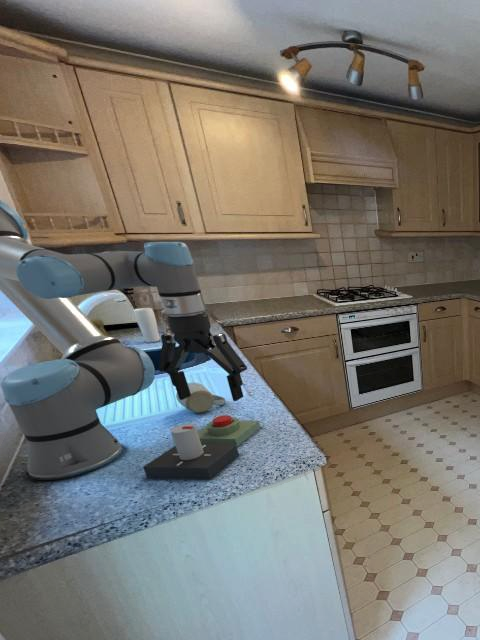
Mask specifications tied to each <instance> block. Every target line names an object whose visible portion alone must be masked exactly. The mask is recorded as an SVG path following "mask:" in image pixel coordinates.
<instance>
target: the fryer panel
mask: <svg viewBox="0 0 480 640" xmlns="http://www.w3.org/2000/svg"><path fill="white" fill-rule="evenodd" d="M201 445H202V448H203V451H204V453H203V454H202V455H201V456H199V457H197V458H194V459H191V460H181V459H180V457H179V454H178V451H177V448H176V446H175V445H174V446H172V447H171V448H170V449H168V450H167V451H165V452H164V453H162V454H161V455H159V456H157V457H156V458H154V459H153V460H152V461H150V462H148V463H147V464H145V465H144V466H143V468H142V469H143V471H144V473H145V476H146V479H160V480H161V479H164V480H165V479H167V480H168V479H169V480H212V479H213V478H214V477H215V476H216V475H218V474H219V473H220V472H221V471H222V470H224V469H225V468H227V466H228V465H229V464H231V463H232V462H233V461H234V460H235V459H237V458H238V457H239V456H240V453H239V450H238V446H237V445H222V444H201Z"/></svg>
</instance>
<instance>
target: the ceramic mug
mask: <svg viewBox="0 0 480 640" xmlns="http://www.w3.org/2000/svg"><path fill="white" fill-rule="evenodd" d="M187 384H188V387H189V390H190V393H191V396H189V397H187V398H185V399H183V400H180V399H179V396H178V393H177V392H176V400H177V402H178V403H179V404H180V405H181V406H182V407H184V408H185V409H186V410H187V411H189V412H192V413H195V414H203V413H205V412H207V411H209V410H210V409H212V407H213V406H223V405H225V404H226V398H225V397H223V396H221V395H216V394H212V392H211V391H210V390H208V389H207V387H206V386H204V385H203V384H201V383H199V382H187Z"/></svg>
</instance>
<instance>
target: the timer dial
mask: <svg viewBox="0 0 480 640" xmlns="http://www.w3.org/2000/svg"><path fill="white" fill-rule="evenodd" d="M170 433H171V437H172V439H173V442H174V446H176V448H177V451H178V454H179V457H180V459H181V460H191V459H194V458H197V457H199V456H201V455H202V454H203V453H204V451H203V448H202V445H201V442H200V439H199V435H198V428H197V426H196V424H195V423H182V424H180V425H176V426H174V427H173V428H171V429H170Z"/></svg>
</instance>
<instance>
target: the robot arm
mask: <svg viewBox="0 0 480 640" xmlns="http://www.w3.org/2000/svg"><path fill="white" fill-rule="evenodd" d="M25 224H26V223H25V222H24V220H23V217H21V215H20V214H19V213H18V212H17V211H16V210H15V209H14V208H13V207H11V206H10V205H9V204H8V203H7V202H5V201H3V200H1V199H0V292H1V293H2V294H3V295H4V296H5V297H6V299H8V300H9V301H10V302H11V303H12V304H13V305H14V306H15V307H16V308H17V309H18V311H20V312H21V313H22V314H23V315H24V316H25V317H26V318H27V319H28V320H29V321H30V322H31V323H32V324H33V325H34V326H35V327H36V328H37V329H38V330H39V332H40V333H42V334H43V335H44V336H45V337H46V338H47V339H48V341H49V342H51V343H52V345H54V347H55V348H56V349H58V350H59V352H61V353H62V355H61V358H57V359H50V360H45V361H43V362H35V363H32V364H28V365H25V366H23V367H20V368H18V369H15V370H13V371H11V372H10V373H8V374H6V375H5V376H4V377H3V379H2V380H1V383H0V387H1V391H2V393H3V397H4V401H5V402H6V404H8V406H9V408H10V410H11V412H12V414H13V416H14V418H15V419H16V421H17V424H18V425H19V428H20V429H21V432H22V433H23V436H24V438H25V440H26V441H27V462H26V469H27V473H28V475H29V476H30V478H31V479H33V480H37V481H55V480H63V479H69V478H72V477H76V476H80V475H83V474H86V473H89V472H92V471H94V470H98V469H100V468H102V467H104V466H106V465H108V464H110V463H112V462H113V461H115V460H116V459H117V458H119V457H120V456H121V455H122V453H123V446H122V444H121V443H120V441H119V440H118V439H117V438H116V437H115V436H114V435H113V433H111V432H110V431H109V429H107V428H106V427H105V426H104V425H103V424H102V422H101V420H100V418H99V415H98V413H97V410H99V409H101V408H104V407H106V406H109V405H111V404H113V403H116V402H119V401H121V400H123V399H125V398H128V397H132V396H135V395H137V394H139V393H141V392H142V391H144V390H146V389H148V388H149V387H150V386H152V385H153V383H154V381H155V372H156V369H155V365H154V362H153V360H152V359H151V358H150V356H149V354H148V353H146V351H144V350H143V349H141V348H139V347H137V346H130V345H129V346H128V345H127V346H124V344H123V343H122V342H121V341H120V340H119V339H118V338H117V337H113V336H109V335H108V336H109V337H108V336H104V335H103V333H102V332H101V331H100V330H99V329H98V328H97V327H96V326H95V325H94V324H93V323H92V322H91V321H90V320H91V319H90V318H89V317H88V316H87V315H86V314H85V313H84V312H83V311H82V309H80V307H79V306H78V305H77V304H76V303H75V302H74V301H73V300H72V299H71V298H73V297H77V296H83V295H88V294H89V295H90V294H95V293H102V292H109V291H110V292H111V291H117V290H123V289H130V288H138V287H139V288H141V287H153V288H154V287H155V288H156V289H157V292H158V296H159V298H160V301H161V304H162V307H163V309H164V311H165V313H166V314H168V315H169V316H167V321H168V324H169V327H170V330H171V332H170V333H167V334H165V333H163V334H161V335H160V341H161V343H162V344H161V350H160V356H159V362H158V366H157V367H158V368H157V369H158V371H159V372H161V373H162V372H164V373H166V374H167V375H168V376H169V378H170V381H171V385H172V386H173V387H175V390H176V394H177V393H178V396H179V399H180V400H183V399H185V398H187V397H189V396H191V393H190V390H189V387H188V384H187V383H188V381H187V378H186V374H185V372H184V370H182V366H183V365H184V363H185V361H186V359H187V357H189V354H200V355H202V354H203V355H205V356H207V357H209V358H210V359H211V360H212V361H214V362H215V363H216V364H217V366H219V367H220V368H222V370H224V371H225V372H226V374H228V375H226V380H227V384H228V387H229V390H230V395H231V399H232V401H233V402H237V401H239V400H241V399H242V398H244V393H243V389H242V386H243V385H244V384H243V380H242V376H241V373H243V372H245V371H247V370H248V366H247V365H246V364H245V362H244V361H243V360H242V358H241V357H240V356H239V354H238V353H237V352H236V350H235V349H234V348H233V347H232V345H231V344H230V343H229V341H228V339H227V336H226V334H225V333H224V332H220V333H218V334H212V333H211V326H212V325H211V322H210V317H209V315H208V313H207V312H205V311H206V310H207V307H206V303H205V299H204V297H203V293H202V290H201V287H200V283H199V280H198V275H197V272H196V267H195V261H194V260H193V257H192V254H191V252H190V249H189V247H188V245H187V244H186V243H185V242H181V241H150V242H146V243H144V244H143V248H144V251H134V250H133V251H132V250H130V251H129V250H121V249H120V250H108V251H103V252H94V253H93V252H92V253H77V254H74V253H73V254H65V253H60V252H57V251H54V250H50V249H47V248H44V247H40V246H36V245H33V244H29V243H28V241H27V240H28V236H29V235H28V229H27V228H26V227H25V226H24V225H25ZM177 344H178V346H177V347H176V345H177Z"/></svg>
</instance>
